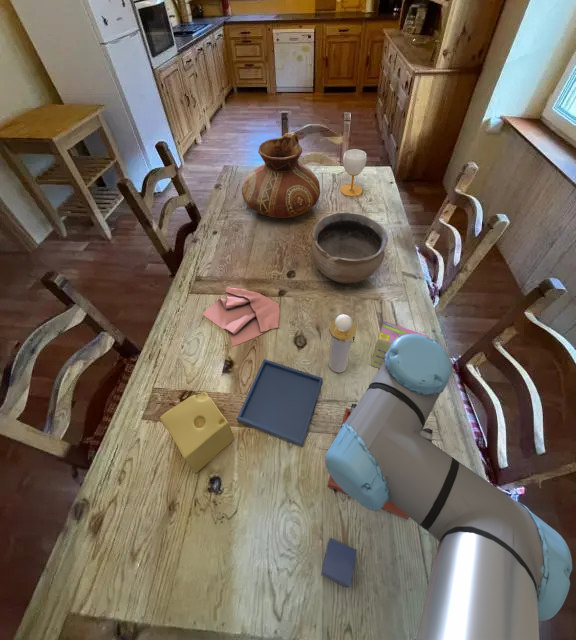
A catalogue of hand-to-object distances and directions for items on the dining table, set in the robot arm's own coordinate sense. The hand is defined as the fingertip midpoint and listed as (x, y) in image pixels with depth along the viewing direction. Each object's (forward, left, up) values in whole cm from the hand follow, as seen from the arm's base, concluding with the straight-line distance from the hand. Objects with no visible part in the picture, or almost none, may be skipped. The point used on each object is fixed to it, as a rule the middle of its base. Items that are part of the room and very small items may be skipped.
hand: (375, 455), depth 68 cm
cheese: (-8, +35, -3) cm, 36 cm away
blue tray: (+5, +22, -3) cm, 23 cm away
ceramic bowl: (+51, +18, -3) cm, 54 cm away
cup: (+96, +26, -3) cm, 99 cm away
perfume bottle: (+18, +12, -3) cm, 22 cm away
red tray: (0, 0, -3) cm, 3 cm away
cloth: (+25, +42, -3) cm, 49 cm away
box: (+23, -1, -3) cm, 23 cm away
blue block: (-18, +3, -3) cm, 19 cm away
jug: (+78, +50, -3) cm, 93 cm away
